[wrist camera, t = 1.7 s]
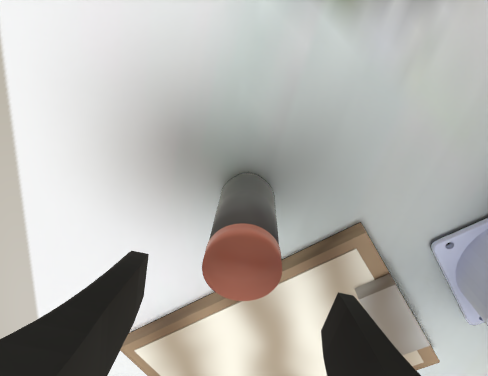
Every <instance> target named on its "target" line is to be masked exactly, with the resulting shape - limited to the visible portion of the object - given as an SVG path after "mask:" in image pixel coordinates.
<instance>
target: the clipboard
mask: <svg viewBox="0 0 488 376" xmlns="http://www.w3.org/2000/svg"><path fill="white" fill-rule="evenodd" d="M281 261H282V276H281V279H280V282H279V283H278V285H277V286H276V288H275V289H274V290H273V291H272V292H271V293H269V294H268V295H266V296H264V297H262V298H259V299H256V300H251V301H236V300H231V299H228V298H225V297H223V296H221V295H219V294H218V293H216V292H214V293H212V294H210V295H208V296H206V297H204V298H202V299H200V300H198V301H195V302H193V303H191V304H189V305H187V306H185V307H183V308H181V309H179V310H177V311H175V312H173V313H170V314H168V315H166V316H164V317H162V318H160V319H158V320H156V321H154V322H152V323H150V324H148V325H145V326H143V327H141V328H139V329H137V330H135V331H133V332H131V333H129V334H128V335H127V337H126V339H125V341H124V343H123V345H122V347H121V349H120V350H121V351H122V352H123V353H124V354H125V355H126V356H127V357H128V358H129V359H130V360H131V361H132V362H133V363H135V364H136V365H137V366H138V367H139V368H140V369H141V370H142V371H143V372H144V373H145V374H146V375H148V376H327V373H326V368H325V364H324V359H323V350H322V338H321V330H322V327H323V325H324V323H325V321H326V318H327V316H328V314H329V312H330V309H331V307H332V305H333V303H334V300H335V298H336V296H337V294H338V292H339V293H343V294H348V295H353V296H354V297H355V298H356V299H357V300H358V301H359V303H360V304H361V305H362V306H363V308H364V309H365V310H366V311H367V313H368V314H369V315H370V316H371V318H372V319H373V320H374V322H375V323H376V324H377V325H378V327H379V328H380V329H381V330H382V332H383V333H384V334H385V335H386V337H387V338H388V339H389V340H390V341H391V343H392V344H393V345H394V346H395V347H396V349H397V350H398V351H399V352H400V353H401V354H402V356H403V357H404V358H405V359H406V360H407V361H408V362H409V363H410V364H411V366H412V367H413V368H414V369H415V370H419V369H422V368H425V367H427V366H430V365H433V364H436V363H439V362H440V361H439V359H438V358H437V356H436V354H435V352H434V350H433V349H432V347H431V345H430V343H429V341H428V340H427V338H426V336H425V334H424V333H423V331H422V329H421V327H420V326H419V324H418V322H417V320H416V319H415V317H414V315H413V313H412V312H411V310H410V308H409V306H408V304H407V303H406V301H405V299H404V297H403V296H402V294H401V292H400V290H399V289H398V287H397V285H396V283H395V282H394V280H393V278H392V276H391V275H390V273H389V271H388V269H387V267H386V266H385V264H384V262H383V260H382V259H381V257H380V255H379V253H378V252H377V250H376V248H375V246H374V245H373V243H372V241H371V239H370V238H369V236H368V234H367V232H366V230H365V229H364V227H363V225H362V223H361V222H360V223H358V224H356V225H354V226H352V227H350V228H348V229H345V230H343V231H341V232H339V233H337V234H335V235H333V236H331V237H329V238H327V239H325V240H323V241H320V242H318V243H316V244H314V245H312V246H310V247H308V248H306V249H304V250H302V251H300V252H298V253H295V254H293V255H291V256H289V257H287V258H285V259H283V260H281Z"/></svg>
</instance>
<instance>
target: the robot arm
mask: <svg viewBox="0 0 488 376" xmlns="http://www.w3.org/2000/svg"><path fill="white" fill-rule="evenodd" d="M449 242H451V243H450V244H449V245H447V246H446V244H447V243H449ZM431 249H432V251H433V253H434V256H435V258H436V260H437V262H438V264H439V266H440V268H441V270H442V272H443V274H444V276H445V278H446V280H447V282H448V284H449V286H450V288H451V290H452V292H453V294H454V296H455V298H456V300H457V302H458V305H459V307H460V309H461V311H462V313H463V315H464V317H465V319H466V320H467V322H468V323H469V324H471V325H478V324H481V323H483V322H485V323H486V324H487V325H488V218H486V219H484V220H482V221H480V222H477V223H475V224H473V225H470V226H468V227H466V228H463V229H461V230H459V231H457V232H454V233H452V234H450V235H447V236H445V237H443V238H441V239H438V240H436V241H435V242H433V243H432V245H431ZM148 255H149V254H145V253H140V252H135V251H131V252H129V253H128V254H127V255H126V256H124V257H123V258H122V259H121V260H120V261H119V262H118V263H116V264H115V265H114V266H113V267H112V268H110V269H109V270H108V271H107V272H106V273H104V274H103V275H102V276H101V277H99V278H98V279H97V280H95V281H94V282H93V283H92V284H90V285H89V286H88V287H86V288H85V289H84V290H82V291H81V292H79V293H78V294H76V295H75V296H74V297H72V298H71V299H69V300H68V301H66V302H65V303H63V304H62V305H60V306H59V307H57V308H56V309H54V310H52V311H51V312H49V313H48V314H46V315H44V316H42V317H41V318H39V319H37V320H36V321H34V322H32V323H30V324H28V325H27V326H25V327H23V328H21V329H19V330H17V331H16V332H14V333H12V334H10V335H8V336H6V337H4V338H2V339H0V376H107V375H108V373H109V371H110V369H111V367H112V365H113V363H114V361H115V359H116V357H117V355H118V353H119V351H120V349H121V347H122V345H123V343H124V341H125V339H126V337H127V335H128V333H129V331H130V329H131V327H132V325H133V323H134V321H135V318H136V316H137V313H138V310H139V308H140V305H141V302H142V299H143V296H144V288H145V280H146V271H147V263H148ZM321 338H322V350H323V359H324V364H325V368H326V373H327V376H421V375H420V374H419V373H418V372H417V371H416V370H415V369H414V368H413V367H412V366H411V364H410V363H409V362H408V361H407V360H406V359H405V358H404V357H403V356H402V354H401V353H400V352H399V351H398V350H397V349H396V347H395V346H394V345H393V344H392V343H391V341H390V340H389V339H388V338H387V337H386V335H385V334H384V333H383V332H382V330H381V329H380V328H379V327H378V325H377V324H376V323H375V322H374V320H373V319H372V318H371V316H370V315H369V314H368V313H367V311H366V310H365V309H364V308H363V306H362V305H361V304H360V303H359V301H358V300H357V299H356V298H355V297H354V296H353V295H348V294H343V293H339V292H338V294H337V296H336V298H335V300H334V303H333V305H332V307H331V309H330V312H329V314H328V316H327V318H326V321H325V323H324V325H323V327H322V330H321Z"/></svg>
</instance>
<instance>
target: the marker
mask: <svg viewBox="0 0 488 376" xmlns="http://www.w3.org/2000/svg"><path fill="white" fill-rule="evenodd" d="M202 272H203V276H204V279H205V281H206V282H207V284H208V285H209V287H210V288H211V289H212V290H214V291H215V292H216V293H218V294H219V295H221V296H223V297H225V298H228V299H231V300H236V301H251V300H256V299H259V298H262V297H264V296H266V295H268V294H269V293H271V292H272V291H273V290H274V289H275V288H276V286H277V285H278V283H279V282H280V279H281V276H282V261H281V251H280V247H279V242H278V231H277V221H276V210H275V199H274V193H273V190H272V188H271V187H270V185H269V184H268V183H267V182H266V181H265V180H264V179H263V178H261V177H260V176H258V175H256V174H253V173H242V174H239V175H237V176H235V177H234V178H232V179H231V180H229V181H228V182H227V183H226V184H225V185H224V187H223V189H222V191H221V195H220V199H219V203H218V207H217V211H216V215H215V219H214V223H213V227H212V232H211V236H210V240H209V242H208V244H207V247H206V251H205V255H204V259H203V264H202Z"/></svg>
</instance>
